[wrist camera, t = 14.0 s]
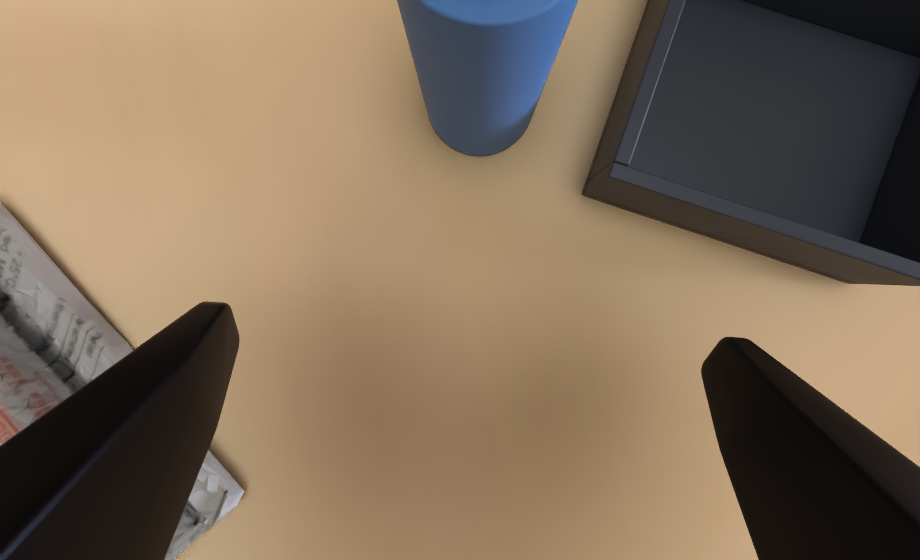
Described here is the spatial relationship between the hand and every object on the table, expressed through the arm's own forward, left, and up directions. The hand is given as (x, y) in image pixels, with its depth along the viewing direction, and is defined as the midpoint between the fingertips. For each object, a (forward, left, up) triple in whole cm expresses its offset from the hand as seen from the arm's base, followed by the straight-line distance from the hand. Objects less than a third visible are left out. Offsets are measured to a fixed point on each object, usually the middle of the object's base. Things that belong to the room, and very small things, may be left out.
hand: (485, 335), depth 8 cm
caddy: (+4, -14, -12) cm, 19 cm away
